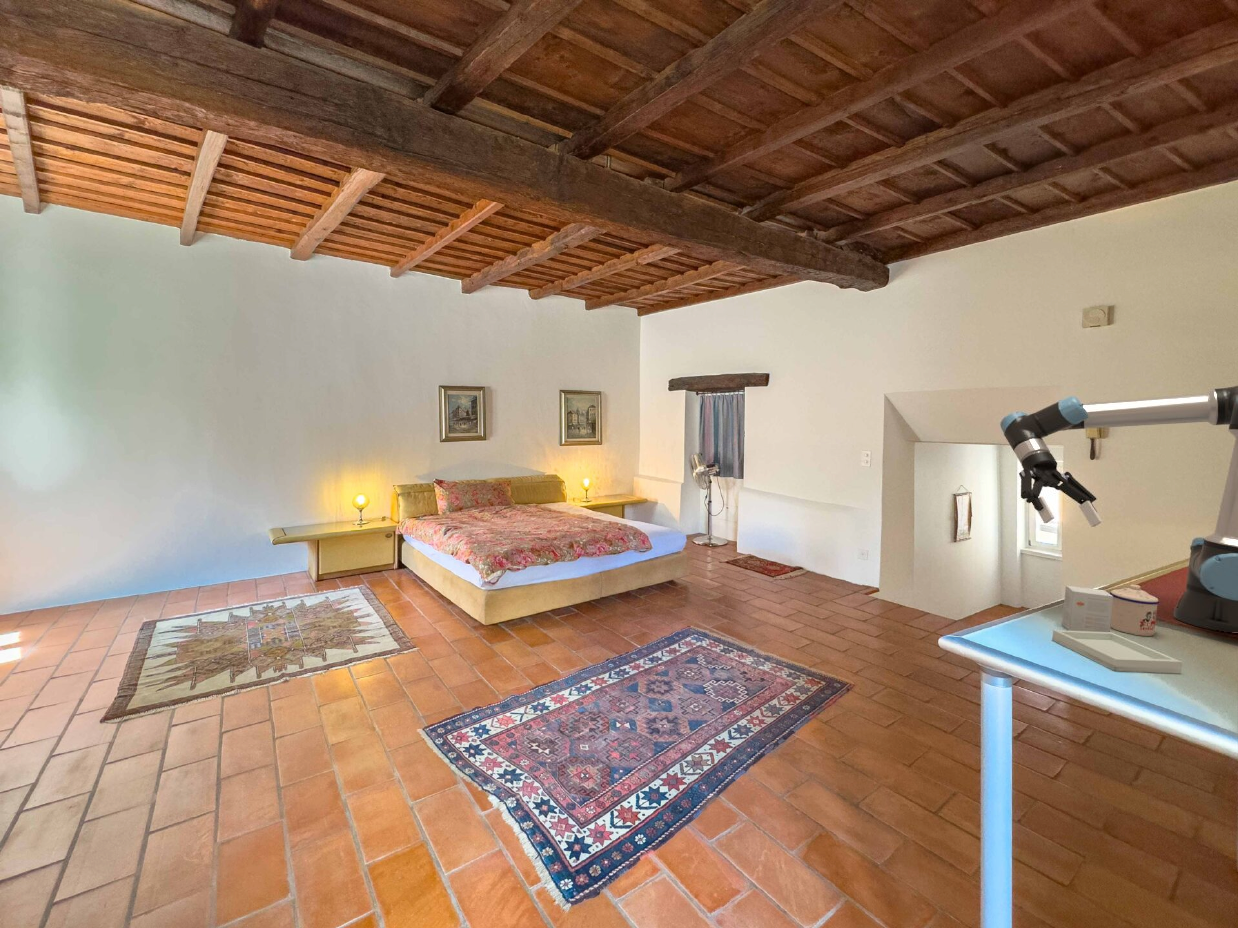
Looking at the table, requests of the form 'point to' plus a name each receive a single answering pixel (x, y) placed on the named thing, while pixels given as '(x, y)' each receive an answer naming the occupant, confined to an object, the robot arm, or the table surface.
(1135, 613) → the teacup with lid
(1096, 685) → the table surface
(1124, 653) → the sage tray
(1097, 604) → the small box
